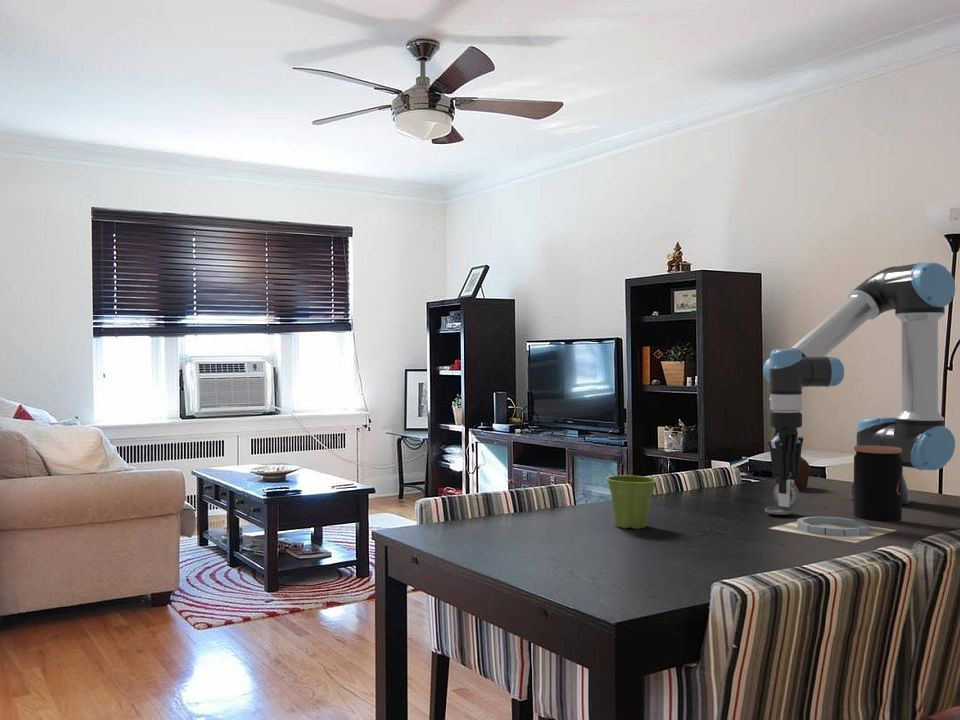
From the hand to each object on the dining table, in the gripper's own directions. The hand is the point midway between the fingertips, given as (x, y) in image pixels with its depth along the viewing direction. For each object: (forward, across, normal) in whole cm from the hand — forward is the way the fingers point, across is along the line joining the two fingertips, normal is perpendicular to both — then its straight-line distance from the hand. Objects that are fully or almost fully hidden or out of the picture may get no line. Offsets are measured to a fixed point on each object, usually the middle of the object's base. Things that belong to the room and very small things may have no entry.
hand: (786, 505), depth 214 cm
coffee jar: (+3, -13, +17) cm, 21 cm away
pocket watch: (+2, +2, 0) cm, 3 cm away
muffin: (+4, -47, -24) cm, 53 cm away
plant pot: (+3, +38, -18) cm, 42 cm away
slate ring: (+2, +10, +17) cm, 20 cm away
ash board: (+3, +10, +17) cm, 20 cm away
